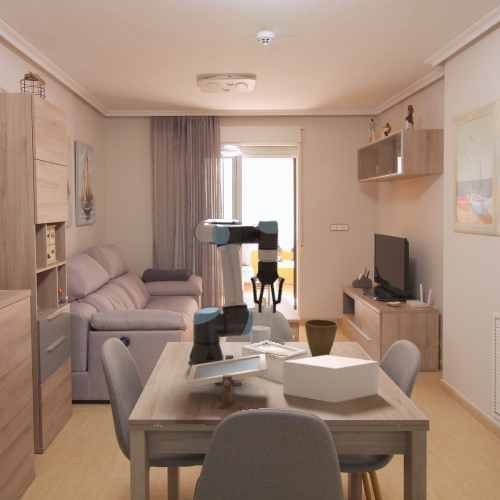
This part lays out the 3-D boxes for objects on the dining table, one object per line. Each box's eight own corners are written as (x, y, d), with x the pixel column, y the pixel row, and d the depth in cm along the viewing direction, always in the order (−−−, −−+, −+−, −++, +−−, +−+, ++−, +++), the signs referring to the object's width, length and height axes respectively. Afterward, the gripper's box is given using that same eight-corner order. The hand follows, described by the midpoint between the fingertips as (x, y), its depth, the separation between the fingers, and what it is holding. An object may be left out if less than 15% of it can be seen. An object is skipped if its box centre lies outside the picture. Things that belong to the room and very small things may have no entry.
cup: (274, 359, 237) (274, 337, 237) (288, 363, 232) (288, 341, 231) (262, 363, 232) (262, 340, 231) (275, 367, 226) (275, 344, 225)
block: (280, 386, 201) (281, 354, 200) (371, 386, 202) (372, 355, 201) (285, 403, 184) (285, 368, 183) (384, 403, 185) (385, 368, 184)
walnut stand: (212, 408, 177) (212, 376, 176) (216, 382, 204) (216, 354, 204) (241, 408, 177) (241, 377, 177) (241, 382, 204) (242, 355, 204)
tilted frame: (187, 388, 180) (186, 382, 179) (193, 369, 201) (192, 364, 201) (268, 375, 180) (267, 369, 179) (265, 357, 201) (264, 352, 201)
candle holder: (263, 357, 241) (264, 331, 240) (245, 353, 246) (245, 328, 246) (274, 352, 250) (274, 327, 249) (256, 349, 255) (256, 324, 254)
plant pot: (300, 359, 239) (300, 324, 237) (309, 351, 252) (309, 318, 251) (332, 362, 233) (333, 327, 232) (339, 354, 247) (340, 321, 246)
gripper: (246, 261, 197) (246, 323, 198) (289, 261, 197) (288, 323, 198) (246, 259, 204) (246, 319, 206) (287, 260, 204) (286, 319, 206)
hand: (266, 321), depth 202 cm, fingers open, 3 cm apart
